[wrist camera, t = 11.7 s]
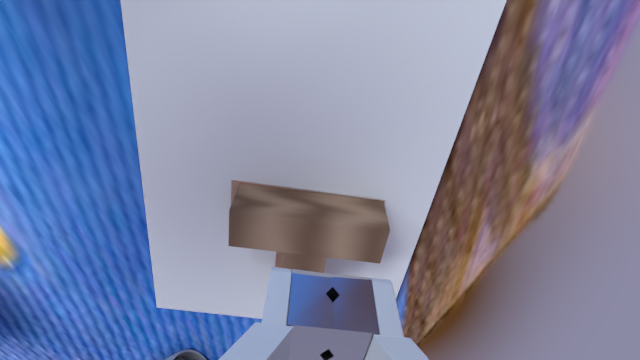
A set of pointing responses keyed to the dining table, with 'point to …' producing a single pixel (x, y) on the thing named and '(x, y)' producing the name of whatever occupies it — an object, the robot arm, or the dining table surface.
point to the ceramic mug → (187, 355)
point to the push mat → (292, 123)
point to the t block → (308, 226)
